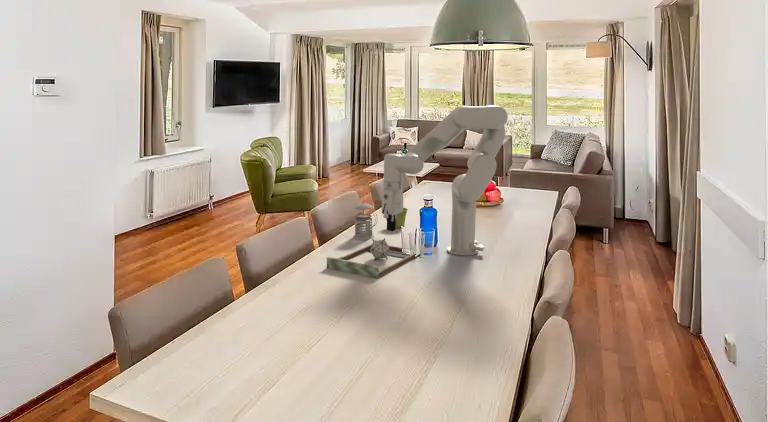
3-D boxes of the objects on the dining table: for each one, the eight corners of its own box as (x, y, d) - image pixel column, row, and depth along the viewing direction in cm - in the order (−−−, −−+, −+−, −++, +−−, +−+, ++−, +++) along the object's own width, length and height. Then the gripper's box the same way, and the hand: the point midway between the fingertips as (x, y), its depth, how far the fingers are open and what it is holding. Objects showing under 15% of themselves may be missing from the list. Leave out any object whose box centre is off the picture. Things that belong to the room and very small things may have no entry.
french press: (360, 232, 246) (360, 179, 240) (382, 236, 240) (382, 181, 235) (348, 237, 237) (347, 182, 232) (370, 241, 232) (370, 184, 226)
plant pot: (386, 224, 261) (386, 207, 259) (404, 223, 263) (404, 206, 261) (390, 229, 252) (390, 211, 250) (409, 228, 254) (410, 210, 252)
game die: (383, 269, 207) (388, 254, 199) (363, 260, 208) (367, 245, 200) (391, 253, 213) (396, 237, 205) (371, 244, 214) (376, 228, 206)
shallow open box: (421, 254, 213) (421, 244, 212) (377, 278, 185) (377, 267, 185) (374, 246, 224) (374, 237, 223) (326, 267, 197) (326, 257, 196)
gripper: (391, 188, 201) (389, 235, 205) (410, 184, 214) (408, 228, 218) (374, 186, 205) (373, 232, 209) (394, 181, 218) (392, 225, 222)
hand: (390, 230), depth 214 cm, fingers closed
